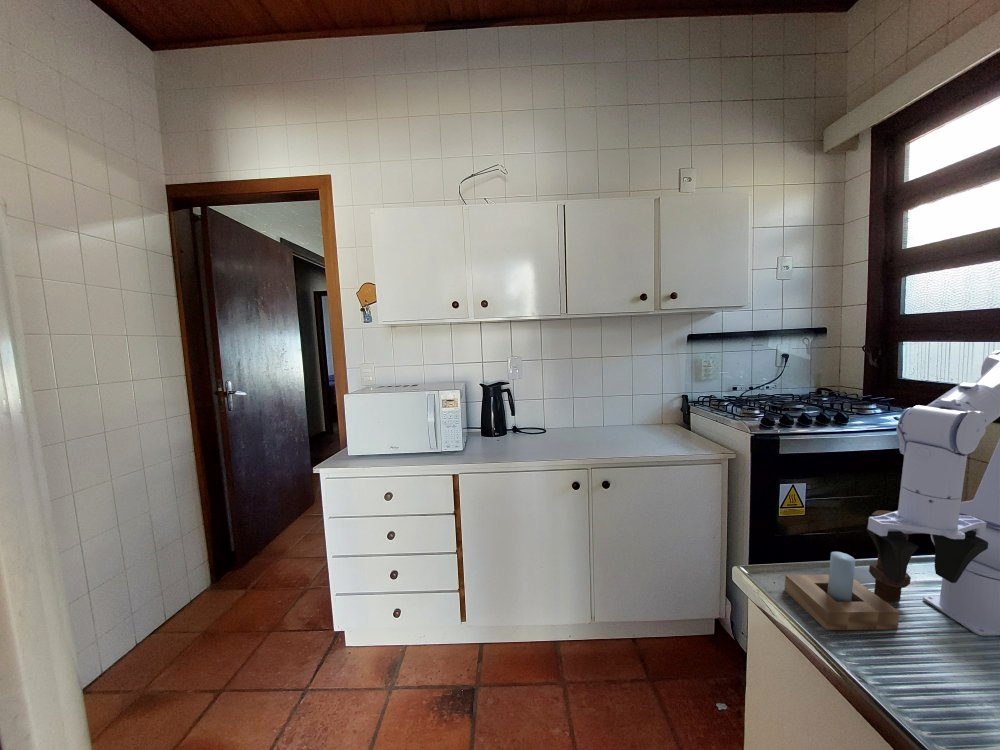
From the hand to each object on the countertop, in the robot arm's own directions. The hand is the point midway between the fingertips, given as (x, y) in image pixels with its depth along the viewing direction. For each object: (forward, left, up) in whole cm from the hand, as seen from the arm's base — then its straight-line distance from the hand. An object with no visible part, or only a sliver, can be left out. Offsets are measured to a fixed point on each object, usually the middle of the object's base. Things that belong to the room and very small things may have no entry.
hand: (919, 578), depth 55 cm
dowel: (+5, -7, -10) cm, 13 cm away
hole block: (+5, -7, -10) cm, 13 cm away
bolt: (-6, -9, -11) cm, 15 cm away
